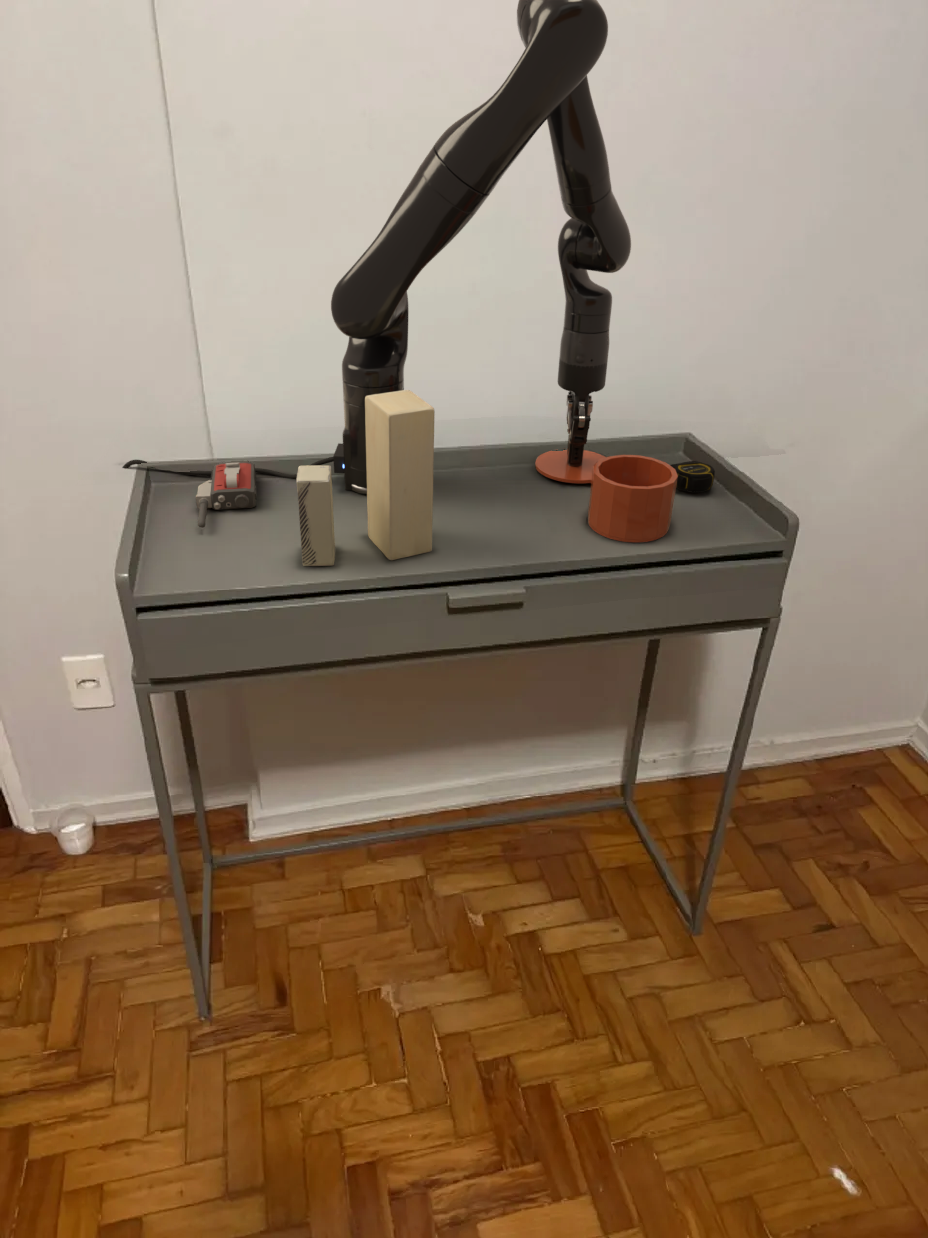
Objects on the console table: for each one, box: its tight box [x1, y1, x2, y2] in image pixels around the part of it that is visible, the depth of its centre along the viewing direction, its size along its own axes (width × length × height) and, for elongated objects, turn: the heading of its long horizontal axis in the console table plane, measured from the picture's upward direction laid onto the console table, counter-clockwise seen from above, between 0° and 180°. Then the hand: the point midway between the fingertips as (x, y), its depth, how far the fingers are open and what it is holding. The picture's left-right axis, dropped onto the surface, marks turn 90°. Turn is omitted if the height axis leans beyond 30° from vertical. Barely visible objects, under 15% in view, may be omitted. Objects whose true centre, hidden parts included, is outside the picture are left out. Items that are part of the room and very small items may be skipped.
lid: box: [534, 434, 607, 484], centre depth 153 cm, size 13×13×6 cm
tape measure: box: [669, 460, 716, 493], centre depth 149 cm, size 7×7×4 cm
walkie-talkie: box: [195, 460, 258, 529], centre depth 141 cm, size 9×4×20 cm
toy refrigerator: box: [365, 389, 436, 561], centre depth 126 cm, size 8×7×21 cm
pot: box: [587, 454, 678, 543], centre depth 137 cm, size 12×12×8 cm
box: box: [296, 464, 336, 567], centre depth 125 cm, size 5×4×13 cm
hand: (574, 459), depth 154 cm, fingers closed on lid, 2 cm apart
